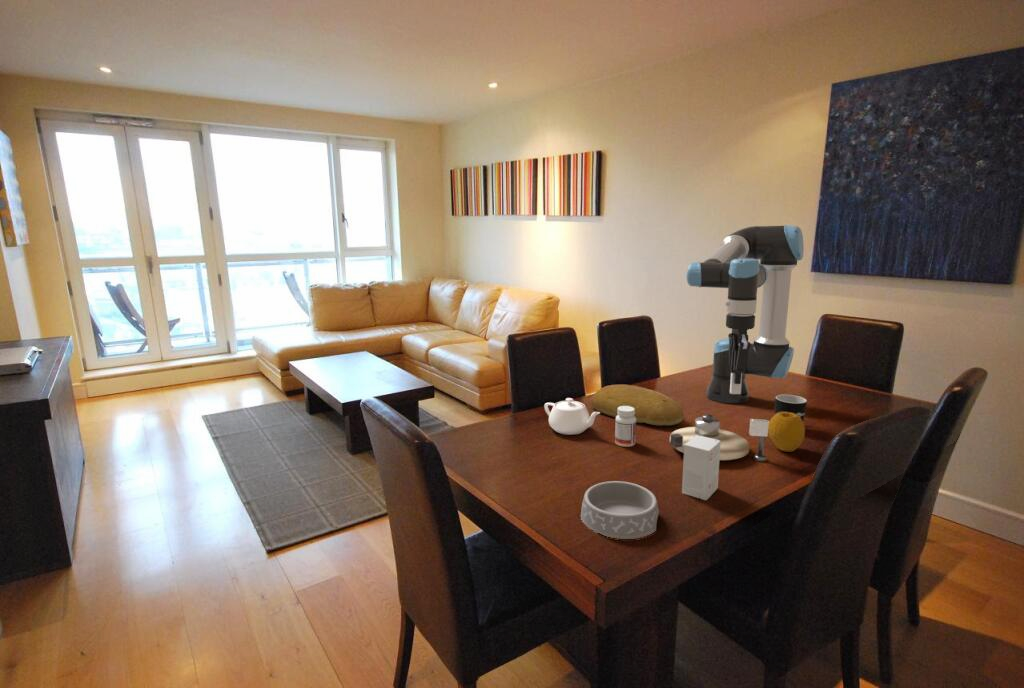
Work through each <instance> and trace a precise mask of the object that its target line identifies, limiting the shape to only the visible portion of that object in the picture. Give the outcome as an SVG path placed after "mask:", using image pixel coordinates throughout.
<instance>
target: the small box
mask: <svg viewBox="0 0 1024 688" xmlns="http://www.w3.org/2000/svg"><path fill="white" fill-rule="evenodd" d="M720 444H721V441H720V440H716V439H712V438H708V437H704V436H699V435H696V436H694V437H693V438H692V439H691V440H690V441H688V442H687V443H686V444H685V445H684V453H683V463H682V465H683V466H682V484H681V494H683V495H687V496H690V497H693V498H697V499H699V498H700V499H699V500H702V501H708V499H710V498H711V496H712V495H713V494H714V493H715V492H716V491H717V490H718V486H719V471H720V470H719V469H720V461H721V460H720Z"/></svg>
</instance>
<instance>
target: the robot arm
mask: <svg viewBox="0 0 1024 688" xmlns="http://www.w3.org/2000/svg"><path fill="white" fill-rule="evenodd" d="M803 235H804V234H803V231H802V229H801V228H800V227H799V226H797V225H786V224H785V225H763V226H762V225H761V226H758V225H757V226H755V225H754V226H748V227H744V228H742V229H739V230H736V231H734V232H732V233H731V234H729V235H728V236H726V237H725V238H724V239H723V240H722V242H721V244H720V246H719V247H718V248H717V249H716V250H715V251H714V252H713V253H712V254H711V255H710V256H709V257H708V258H707V259H705V260H704V261H703V262H701V261H698V262H691V263H690V264H689V265H688V267H687V269H686V270H687V271H686V281H687V282H686V283H687V284H688V285H689V286H690V287H698V288H713V289H714V288H716V289H717V288H718V289H727V302H725V306H726V312H727V315H725V317H726V318H725V326H726V328H728V329H731V333H729V334H728V338H721V339H719V340H717V341H716V342H715V343H714V351H713V363H712V375H711V379H710V382H709V384H708V387H707V389H706V398H707V399H710V400H712V401H714V402H719V403H723V404H742V403H746V402H748V401H749V398H750V397H749V396H750V394H749V389H748V387H747V382H746V375H750V376H759V377H765V378H770V379H773V378H775V379H783V378H785V377H787V375H788V373H789V370H790V368H791V364H792V361H793V358H794V350H795V349H794V348H793V347H792V346H790V341H789V340H788V339H787V338H786V331H787V322H788V313H789V312H788V311H789V310H788V309H789V300H790V288H791V280H792V270H793V269H794V268H795V267H797V266H798V262H799V261H802V260H803V258H804V249H805V248H804V247H805V246H804V236H803ZM761 287H762V292H761V306H760V318H759V328H758V329H759V331H758V335H757V336H756V338H754V339H753V343H751V342H749V341H750V340H749V334H748V331H749V330H753V329H754V328H755V323H756V316H755V314H756V312H757V304H758V303H757V301H758V300H757V296H758V295H757V294H758V289H759V288H761Z"/></svg>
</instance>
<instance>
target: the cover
mask: <svg viewBox="0 0 1024 688" xmlns="http://www.w3.org/2000/svg"><path fill="white" fill-rule="evenodd" d="M720 425H721V424H720V420H719V419H717V418H715V417H714V415H711V414H708V413H707V414H706V413H705V414H702V416H698V417H696V418H695V420H694V427H695V434H697V435H699V436H704V437H708V438H712V437H717V436H719V429H720Z"/></svg>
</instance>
